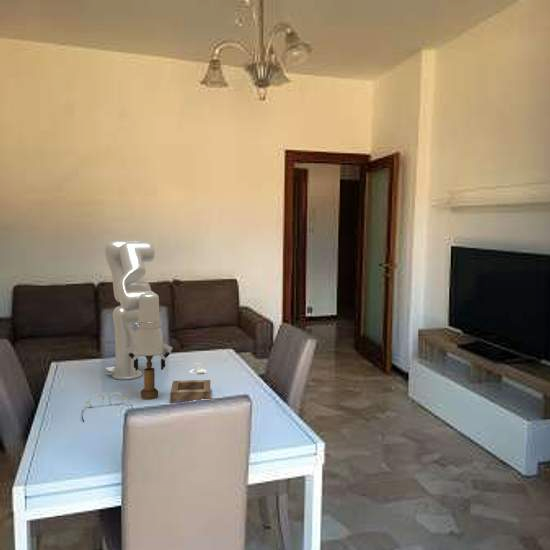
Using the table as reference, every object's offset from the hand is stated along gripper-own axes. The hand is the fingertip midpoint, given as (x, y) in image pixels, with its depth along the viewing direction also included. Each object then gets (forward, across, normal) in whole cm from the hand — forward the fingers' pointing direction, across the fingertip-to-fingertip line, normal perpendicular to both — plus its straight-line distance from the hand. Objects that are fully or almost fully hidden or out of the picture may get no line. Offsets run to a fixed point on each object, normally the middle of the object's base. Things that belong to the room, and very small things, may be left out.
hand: (149, 369), depth 200 cm
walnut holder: (+11, +16, +1) cm, 19 cm away
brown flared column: (+11, 0, +1) cm, 11 cm away
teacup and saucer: (+11, +16, +33) cm, 38 cm away
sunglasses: (+12, -13, -15) cm, 23 cm away
